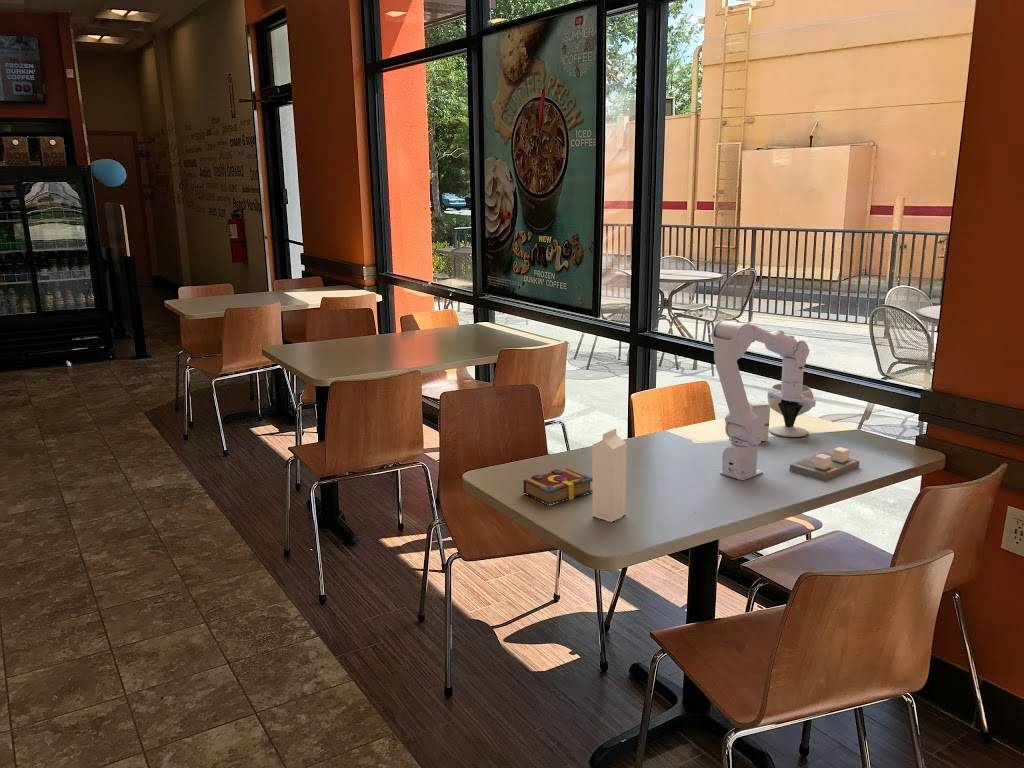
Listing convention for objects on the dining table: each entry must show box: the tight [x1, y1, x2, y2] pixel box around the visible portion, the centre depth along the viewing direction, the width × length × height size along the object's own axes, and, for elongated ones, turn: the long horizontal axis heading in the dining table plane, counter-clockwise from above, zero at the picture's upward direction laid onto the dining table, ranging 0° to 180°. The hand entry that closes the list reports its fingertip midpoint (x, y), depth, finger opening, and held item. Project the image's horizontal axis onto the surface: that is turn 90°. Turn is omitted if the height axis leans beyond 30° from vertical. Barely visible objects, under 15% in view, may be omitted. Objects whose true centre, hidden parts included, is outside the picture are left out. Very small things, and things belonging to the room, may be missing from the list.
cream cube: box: [832, 446, 850, 463], centre depth 234 cm, size 3×3×3 cm
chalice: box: [767, 383, 815, 438], centre depth 266 cm, size 14×14×15 cm
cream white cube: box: [814, 453, 831, 470], centre depth 229 cm, size 3×3×3 cm
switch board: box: [789, 451, 860, 482], centre depth 234 cm, size 17×11×2 cm, turn 128°
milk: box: [592, 428, 627, 521], centre depth 202 cm, size 6×6×22 cm
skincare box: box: [748, 400, 771, 442], centre depth 260 cm, size 6×4×12 cm
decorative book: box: [523, 468, 593, 505], centre depth 220 cm, size 11×16×5 cm
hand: (789, 426), depth 239 cm, fingers closed
